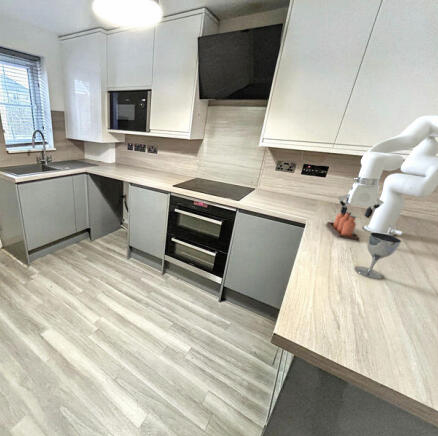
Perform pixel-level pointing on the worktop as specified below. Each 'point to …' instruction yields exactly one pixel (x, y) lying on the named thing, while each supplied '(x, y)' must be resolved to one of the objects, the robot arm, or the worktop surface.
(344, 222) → the tray bottle
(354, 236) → the tray
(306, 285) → the worktop surface
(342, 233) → the loose bottle
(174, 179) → the worktop surface
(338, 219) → the tray bottle
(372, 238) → the wine glass
